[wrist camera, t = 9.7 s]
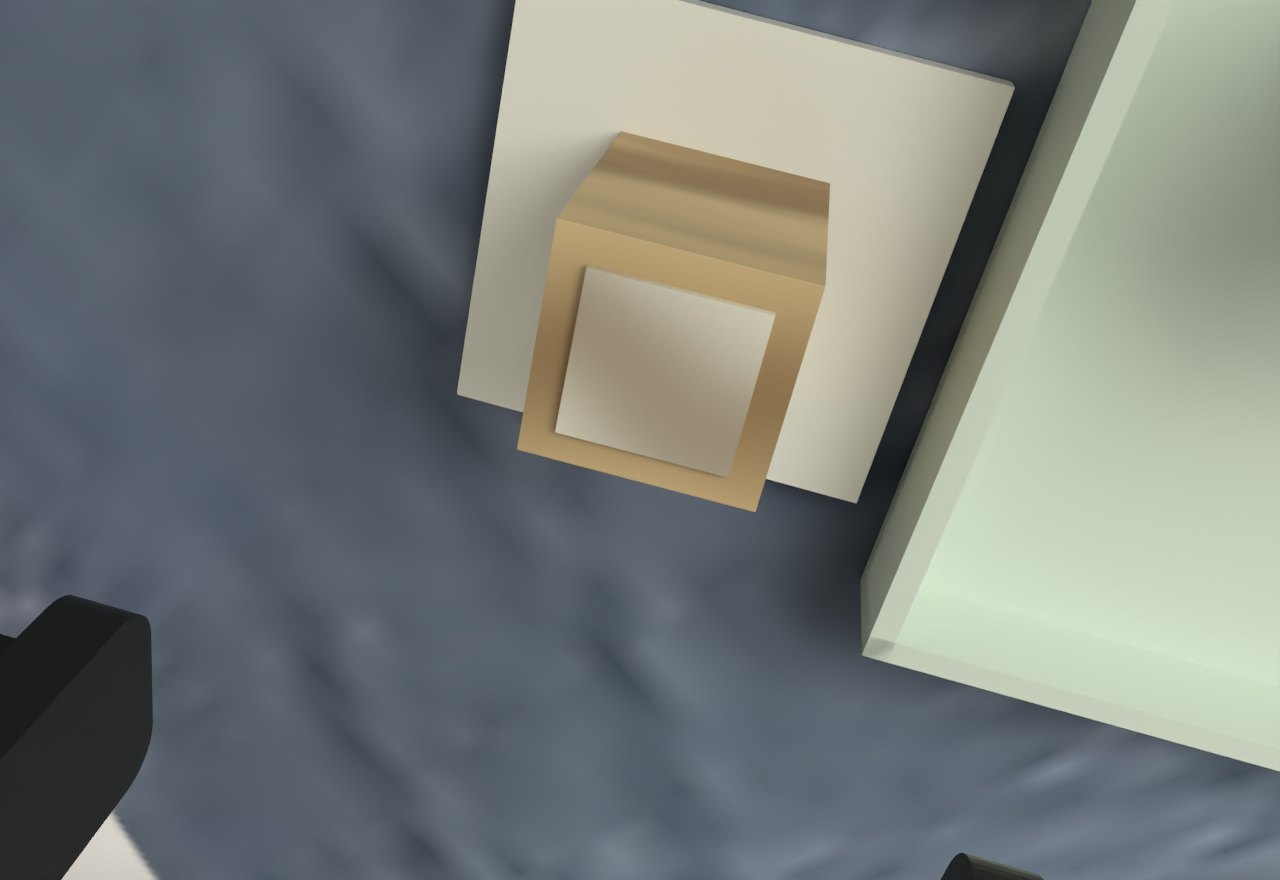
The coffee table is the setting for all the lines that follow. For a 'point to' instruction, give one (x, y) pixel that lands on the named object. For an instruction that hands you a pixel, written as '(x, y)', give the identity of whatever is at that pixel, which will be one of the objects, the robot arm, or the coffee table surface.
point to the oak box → (676, 319)
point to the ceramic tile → (754, 133)
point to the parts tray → (1115, 404)
